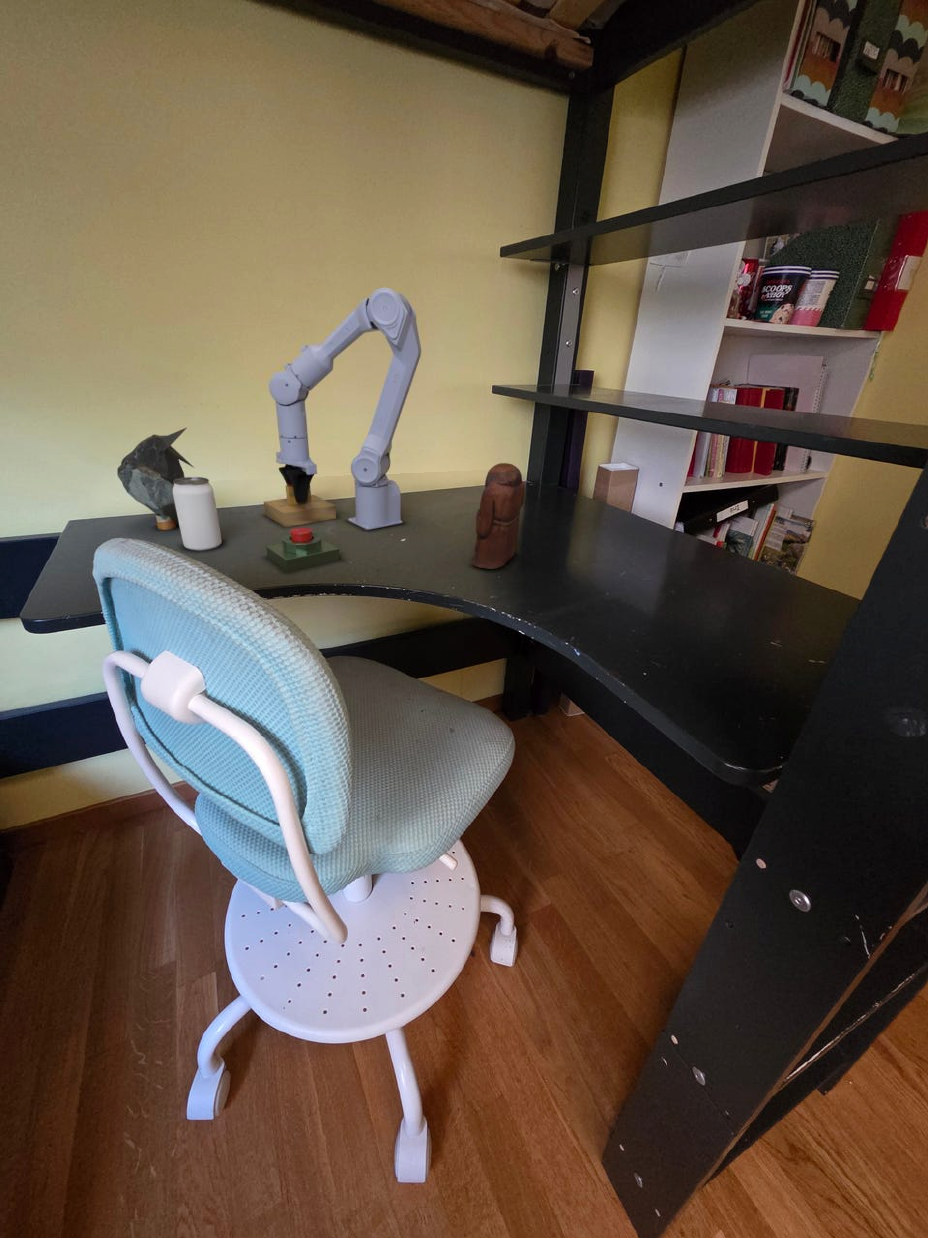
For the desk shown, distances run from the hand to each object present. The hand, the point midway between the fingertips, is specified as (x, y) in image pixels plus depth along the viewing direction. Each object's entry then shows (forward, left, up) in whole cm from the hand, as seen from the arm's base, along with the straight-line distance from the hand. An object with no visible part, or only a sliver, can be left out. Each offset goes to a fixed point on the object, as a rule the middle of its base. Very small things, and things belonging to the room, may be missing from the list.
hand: (299, 501), depth 112 cm
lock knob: (0, 0, 0) cm, 0 cm away
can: (+23, +7, -4) cm, 24 cm away
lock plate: (0, 0, -3) cm, 3 cm away
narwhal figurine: (+24, -9, -4) cm, 26 cm away
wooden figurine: (-18, +43, -4) cm, 47 cm away
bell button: (+11, +23, 0) cm, 25 cm away
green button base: (+11, +23, -3) cm, 26 cm away
